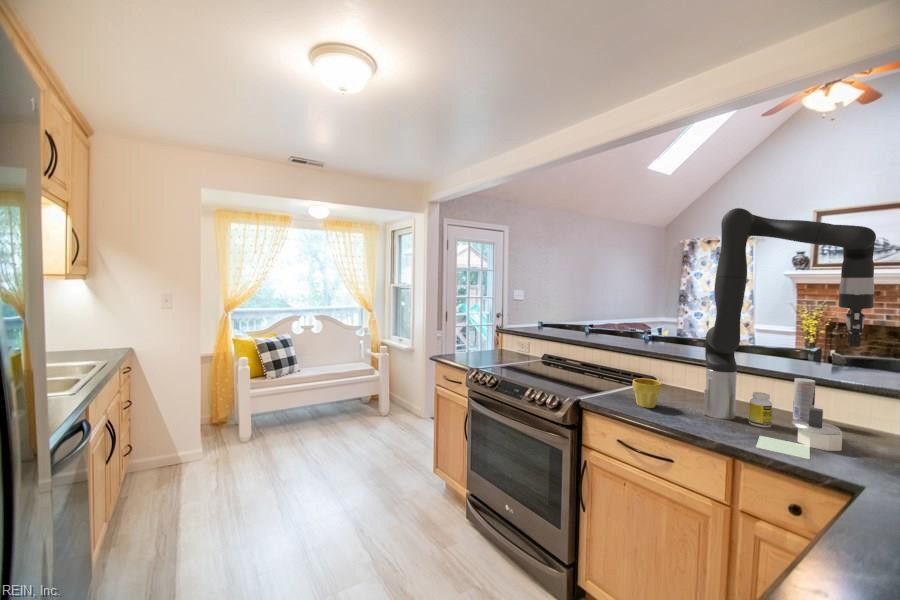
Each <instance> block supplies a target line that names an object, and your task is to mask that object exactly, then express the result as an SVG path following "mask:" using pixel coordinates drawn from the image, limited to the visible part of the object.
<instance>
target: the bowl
mask: <svg viewBox="0 0 900 600" xmlns="http://www.w3.org/2000/svg"><path fill="white" fill-rule="evenodd" d="M797 442H798V443H799V444H803V445H807V446H809V447H810V448H812V449H813V448H814V449H817V450H821V451H827V452H832V451H833V452H835V451H838V452H840V451H842V450H843V431H842V430H840V434H838V435H824V434H817V433H812V432H808V431H804V430H801V429H798V428H797ZM797 442H796V443H797Z"/></svg>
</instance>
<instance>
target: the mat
mask: <svg viewBox="0 0 900 600" xmlns="http://www.w3.org/2000/svg"><path fill="white" fill-rule="evenodd" d="M758 437H759V438H758V440H757V443H756V445H755V448H757V449H762V450H766V451H770V452H775V453H780V454H784V455H788V456H792V457H797V458H802V459H805V460H810V457H811V453H810V452H811V447H809V446H807V445H804V444H802V443H799V442H798V443H797V442H793V441H787V440H784V439H779V438H775V437H773V438H772V437H769V436H768V437H767V436H763V435H759V436H758Z"/></svg>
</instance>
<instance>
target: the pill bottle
mask: <svg viewBox="0 0 900 600" xmlns="http://www.w3.org/2000/svg"><path fill="white" fill-rule="evenodd" d="M770 399H771V396H770V394H769V393H766V392H761V391H753V392H752V398H750V400H749V407H748V408H749V413H748V414H749V415H748V424H749V425H752V426H755V427H761V428H771V427H772V420H773V417H772V415H773V414H772V413H773V403H772V401H770Z"/></svg>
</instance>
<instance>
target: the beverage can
mask: <svg viewBox="0 0 900 600" xmlns="http://www.w3.org/2000/svg"><path fill="white" fill-rule="evenodd" d="M815 399H816V380H813V379H808V378H801V377H799V378H798V377H795V378H794V383H793V403H792V404H793V405H792V406H793V407H792V420H796V419H805V420H809V409H810V407H811V408H815V401H816V400H815Z"/></svg>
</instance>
